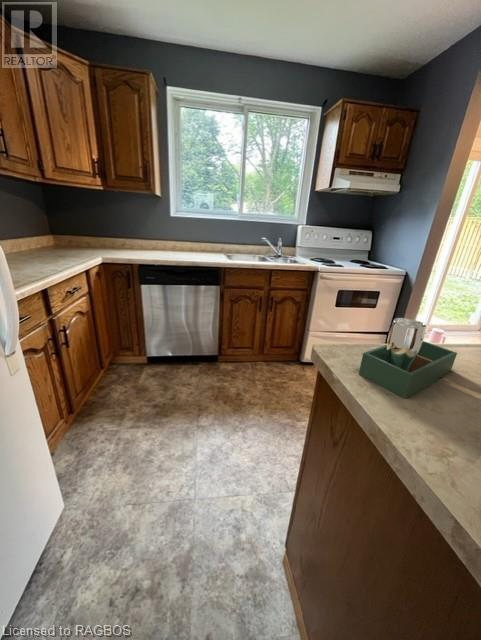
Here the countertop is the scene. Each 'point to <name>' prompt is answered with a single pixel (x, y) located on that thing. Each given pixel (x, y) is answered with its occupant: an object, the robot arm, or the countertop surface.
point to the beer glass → (404, 342)
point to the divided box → (402, 382)
